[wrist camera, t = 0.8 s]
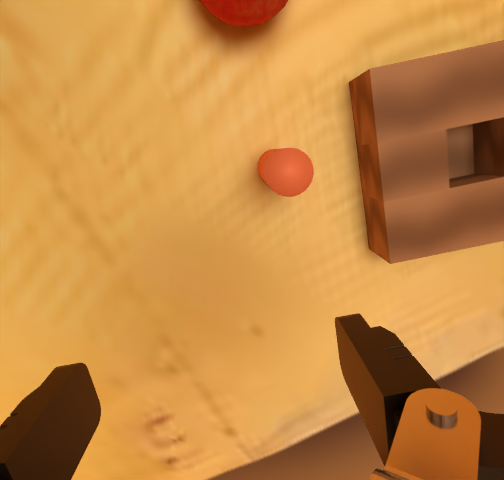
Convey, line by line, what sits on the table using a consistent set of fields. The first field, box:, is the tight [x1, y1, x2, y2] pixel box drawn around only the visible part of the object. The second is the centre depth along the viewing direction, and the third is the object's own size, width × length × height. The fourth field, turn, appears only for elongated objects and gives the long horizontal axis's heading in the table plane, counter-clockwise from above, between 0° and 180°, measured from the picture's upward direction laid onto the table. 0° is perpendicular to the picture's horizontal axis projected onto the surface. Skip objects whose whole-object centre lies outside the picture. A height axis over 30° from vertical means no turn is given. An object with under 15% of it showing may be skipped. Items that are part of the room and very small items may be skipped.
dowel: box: [258, 148, 313, 197], centre depth 28 cm, size 3×3×10 cm
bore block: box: [349, 40, 504, 264], centre depth 30 cm, size 16×16×5 cm
